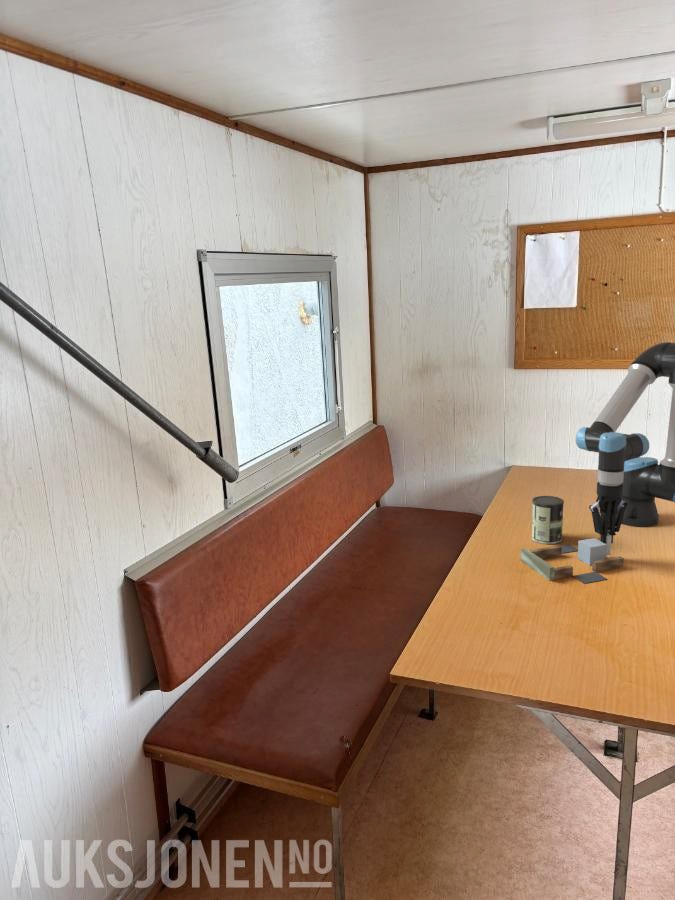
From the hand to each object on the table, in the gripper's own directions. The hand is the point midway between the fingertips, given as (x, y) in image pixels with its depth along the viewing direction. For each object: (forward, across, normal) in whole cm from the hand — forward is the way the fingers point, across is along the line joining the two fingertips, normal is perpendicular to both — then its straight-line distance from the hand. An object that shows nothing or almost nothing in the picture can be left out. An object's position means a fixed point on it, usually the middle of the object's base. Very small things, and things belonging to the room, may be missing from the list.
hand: (605, 553), depth 213 cm
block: (+2, +5, 0) cm, 5 cm away
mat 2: (+2, +14, +11) cm, 17 cm away
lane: (+2, +13, 0) cm, 13 cm away
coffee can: (+2, +8, -21) cm, 22 cm away
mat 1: (+2, +8, -11) cm, 13 cm away
